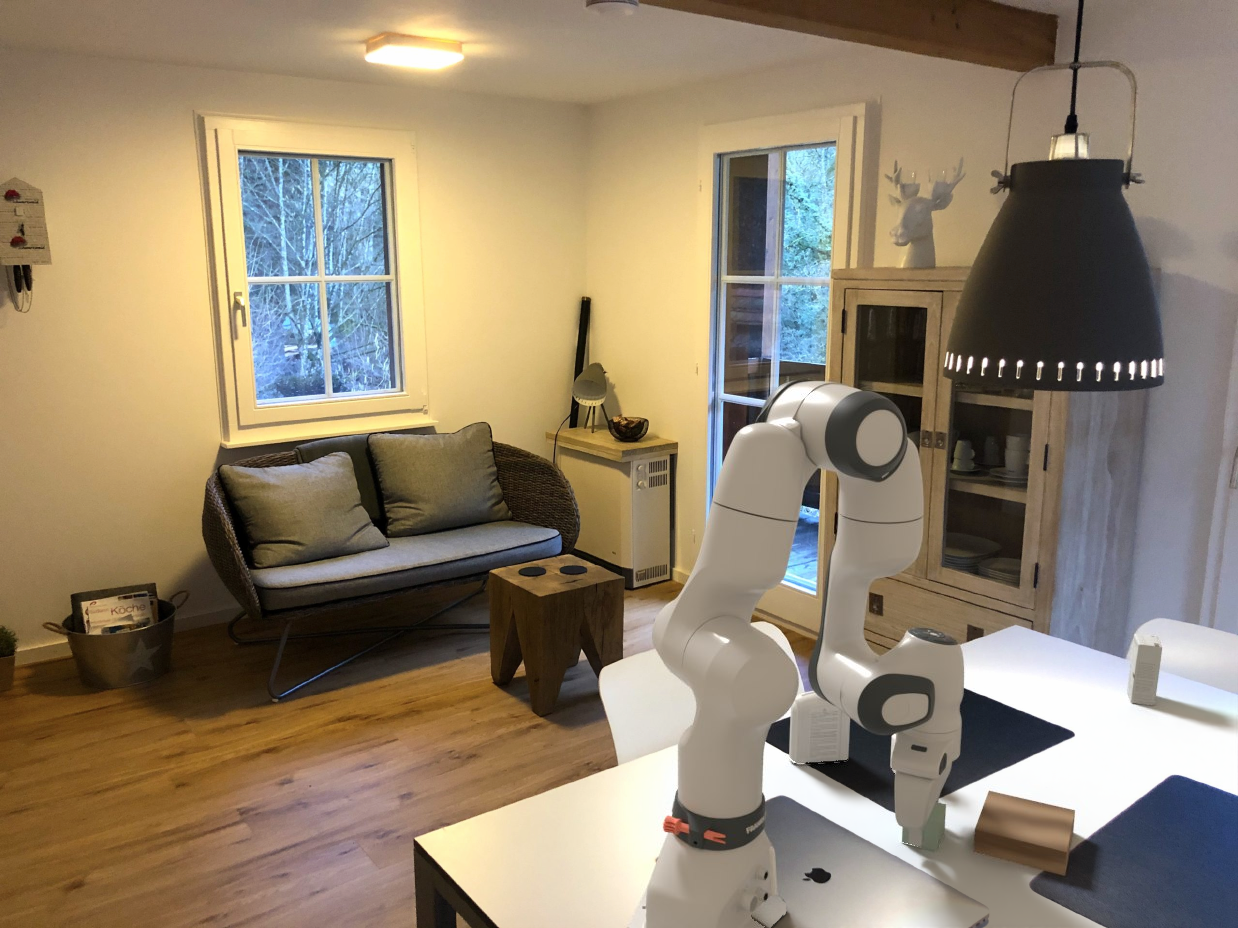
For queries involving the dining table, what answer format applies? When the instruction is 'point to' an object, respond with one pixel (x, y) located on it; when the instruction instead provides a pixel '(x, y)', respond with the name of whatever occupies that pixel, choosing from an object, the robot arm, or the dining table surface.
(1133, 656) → the skincare box
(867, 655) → the robot arm
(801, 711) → the white rounded block
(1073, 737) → the dining table surface
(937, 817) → the green cube
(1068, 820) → the walnut block
